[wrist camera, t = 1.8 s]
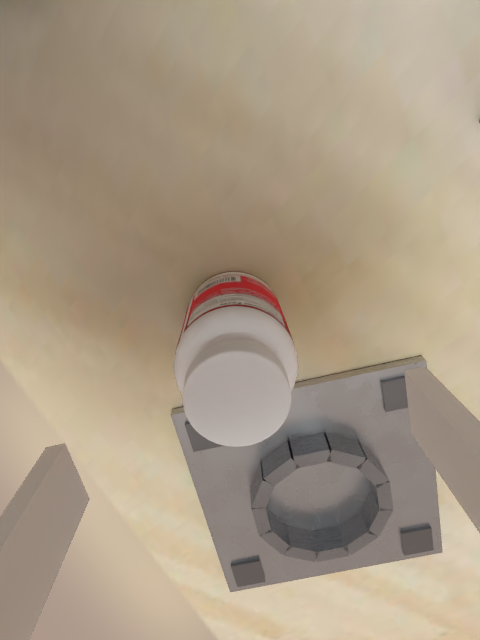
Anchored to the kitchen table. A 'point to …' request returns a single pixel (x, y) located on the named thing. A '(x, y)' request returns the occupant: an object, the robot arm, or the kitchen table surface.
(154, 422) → the kitchen table surface
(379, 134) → the kitchen table surface
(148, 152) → the kitchen table surface
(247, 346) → the pill bottle
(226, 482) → the duct flange
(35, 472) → the robot arm
